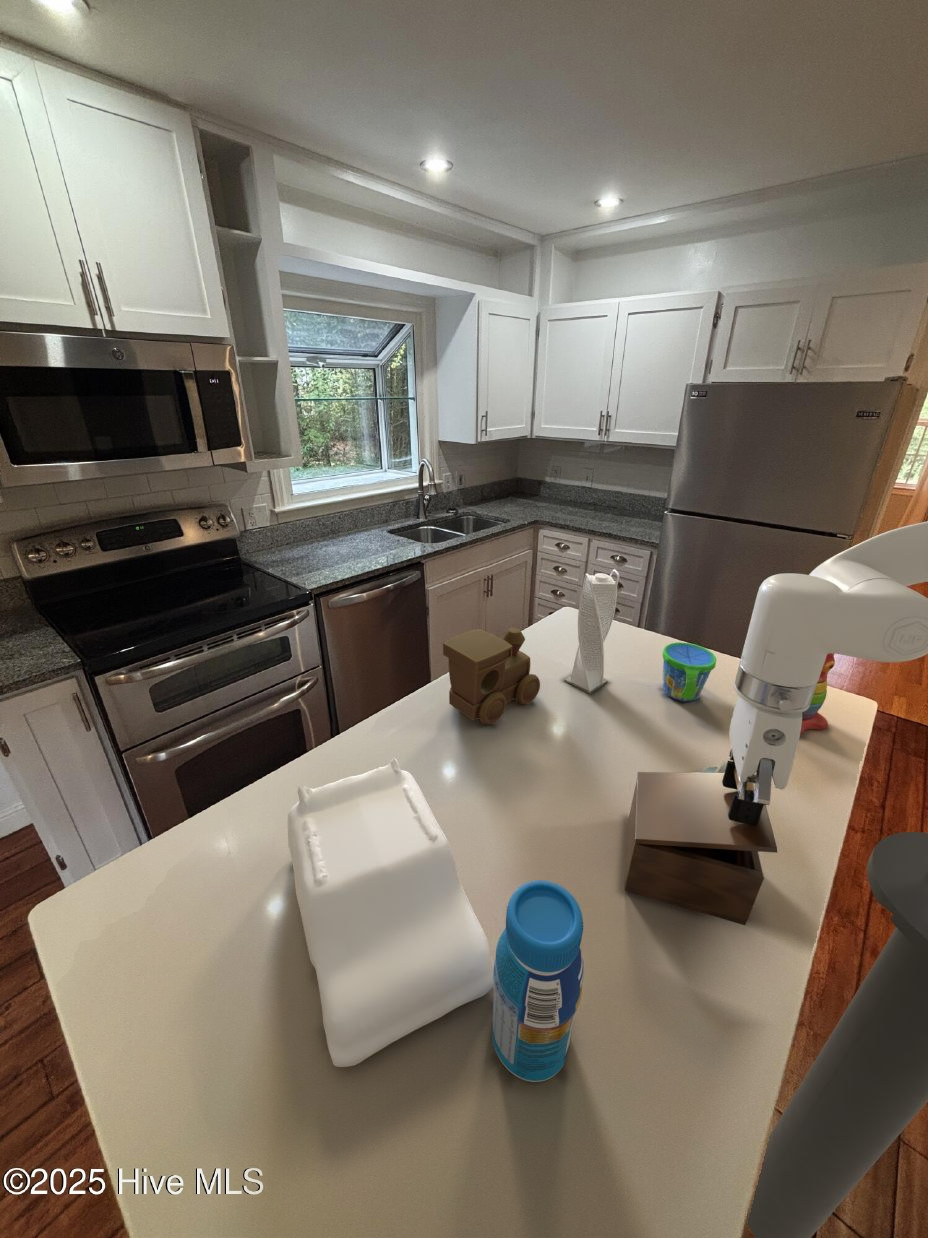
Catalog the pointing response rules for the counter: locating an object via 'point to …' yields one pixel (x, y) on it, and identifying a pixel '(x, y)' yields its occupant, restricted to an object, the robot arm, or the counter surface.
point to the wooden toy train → (489, 673)
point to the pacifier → (715, 769)
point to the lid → (695, 813)
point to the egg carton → (382, 911)
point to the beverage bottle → (537, 980)
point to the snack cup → (686, 670)
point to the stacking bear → (818, 700)
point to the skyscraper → (593, 630)
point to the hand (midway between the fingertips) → (738, 802)
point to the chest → (694, 876)
